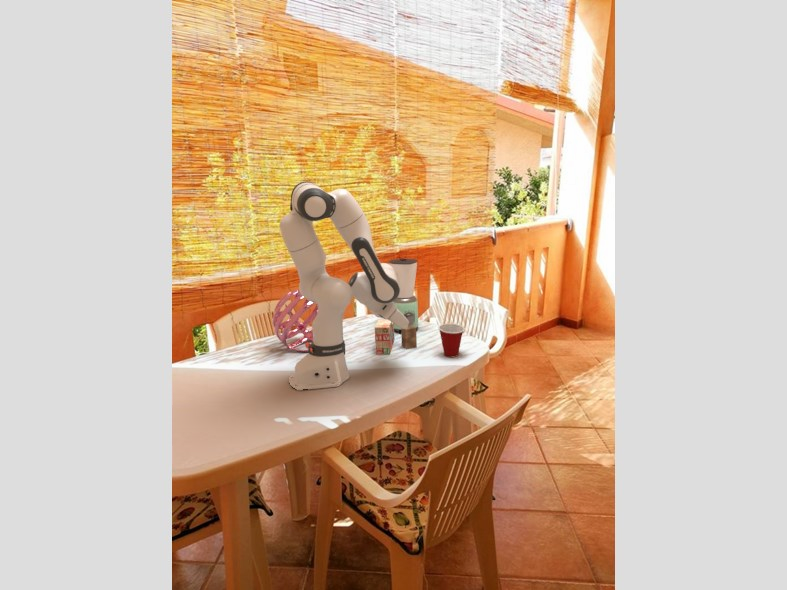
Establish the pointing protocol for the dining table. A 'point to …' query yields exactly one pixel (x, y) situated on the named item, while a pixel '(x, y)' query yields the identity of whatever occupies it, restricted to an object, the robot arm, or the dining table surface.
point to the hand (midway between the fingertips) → (405, 326)
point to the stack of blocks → (384, 336)
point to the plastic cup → (451, 338)
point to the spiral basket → (293, 319)
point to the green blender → (406, 290)
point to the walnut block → (409, 337)
